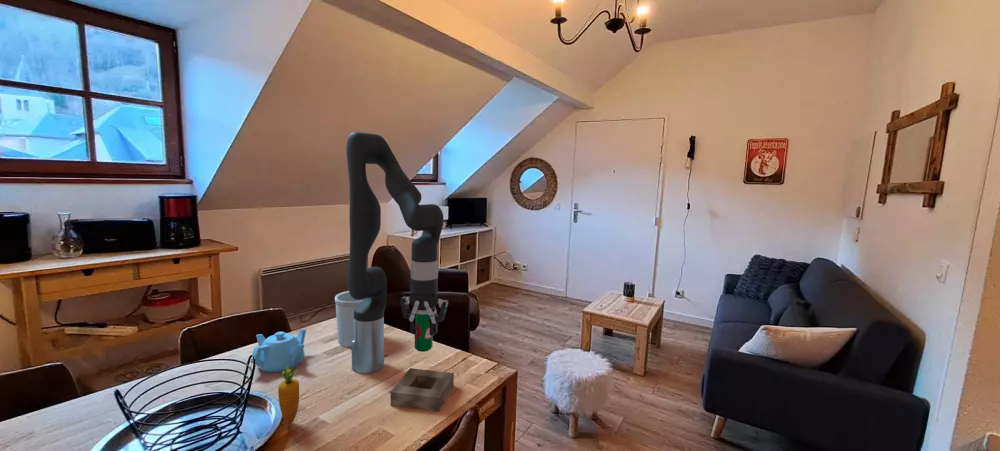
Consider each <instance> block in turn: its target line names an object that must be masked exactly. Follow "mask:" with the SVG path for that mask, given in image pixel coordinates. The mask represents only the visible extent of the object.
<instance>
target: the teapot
mask: <svg viewBox="0 0 1000 451" xmlns="http://www.w3.org/2000/svg"><path fill="white" fill-rule="evenodd" d="M306 331H307V329H305V328H302V329H299V332H298V334H297V335H296V336H295V335H294V334H292V333H289V332H288V333H287V332H285V331H277V332H275V333H274V334H273V335H269V336H268V337H267V338H266V337H265V336H264V334H261V333H259V334H256V336H255V337H256V339H257V340H256V341H257V345H258V346H253V349H252V350H253V351H252V355H251V357H254V359H255V364H254V365H255V366H257V368H259V369H260V370H261V371H263V372H265V373H280V372H281V373H282V372H283V371H285V372H286V367H288V366H289V368H290V370H292V369H293V368H296V367H297V366H298V365H300V363H301V362H302V361H303V359H304V357H305V350H304V349H305V343H304V342H305V338H306V333H307V332H306ZM250 363H251V364H253V359H251V358H250Z"/></svg>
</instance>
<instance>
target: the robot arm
mask: <svg viewBox="0 0 1000 451" xmlns="http://www.w3.org/2000/svg"><path fill="white" fill-rule="evenodd" d="M345 151H346V162H347V171H348V184H349V216H348V218H349V256H348V266H347V267H348V269H347V281H346V282H347V289H348V290H347V291H349V293H350V295H351V297H352V298H354V299H356V300H360V299H364V298H365V300H364V301H363V302H362V303H361V304H360V305H359V306H357V307H356V308H355V310H354V340H353V341H352V347H351V370H353V371H355V372H357V373H359V374H364V375H365V374H374V373H377V372H379V371H381V370H383V369H384V367H385V321H384V319H385V318H384V317H385V316H384V315H385V314H384V313H385V310H386V306H387V291H388V290H387V289H388V283H387V277H386V272H385V271H384V270H383V268H381V267H379V266H370V267H367V266H368V265H367V264H368V263H367V262H368V256H369V253H370V250H371V249H372V247H373V245H374V243H375V241H376V239H377V237H378V235H379V234H380V230H381V226H382V225H381V224H382V220H381V218H382V216H381V214H382V213H381V212H382V209H381V205H380V202H379V200H378V198H377V196H376V195H375V193H374V192H373V190H372V188H371V186H370V183H369V181H368V177H367V169H366V168H367V166H366V165H377V166H379V168H380V169H381V170H382V171H383V172H384V182H385V188H386V190H387V193H388V194H389V195H390V197H391V198H392V199H393V200H394V201H395V202H396V204H397V205H398V207H399V210H400V212H401V215H402V218H403V220H404V223H405V224H406V226H407V227H408V228H409V229H410V230H413V231H415V232H421V231H422V233H421V235H420V236H419V237H417V238H415V239H414V240H412V243H411V260H410V262H411V264H410V295H409V296H406V295H403V297H401V298H400V299H399V303H400V308H401V312H402V313H401V314H402V318H403V319H405V320H408V322H409V331H410V332H411V334H412V335H415V313H416V311H417V310H418V309H424V310H427V312H428V315H429V317H430V318H431V321H432V323H431V336H433V337H434V336H435V335H436V334H437V333H438V332H439V331H438V329H439V328H438V326H439V324H438V323H442V322H443V321H444V319H445V318H446V313H447V309H448V306H449V300H448V299H445V300H444V299H441V298H440V297H439V295H438V292H439V288H438V286H439V285H438V284H439V265H438V245H439V241H440V237H441V234H442V231H443V230H442V229H443V227H444V221H445V220H444V213H443V210H442V209H441V207H440V206H439V205H437V204H434V203H428V204H420V203H421V201H422V193H421V191H420V190H419V189H418V188H417V187H416V185H415V184H414V183H413V181H411V180H410V178H409V177H408V176H407V174H406V173H405V171H404V170H403V168H402V167H401V165H400V163H399V161H398V159H397V158H396V156H395V154H394V153H393V151H392V149H391V147H390V145H389V144H388V142H387V141H386V139H385V138H384V137H383V136H381V135H380V134H376V133H367V132H359V131H353V132H351V133H350V134H349V136H348V137H347V140H346V150H345ZM409 304H411V305H412V309H411V310H410V306H409ZM437 304H438V305H439V306H438V307H439V309H440V310H439V314H438V313H437V308H436V305H437Z"/></svg>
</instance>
